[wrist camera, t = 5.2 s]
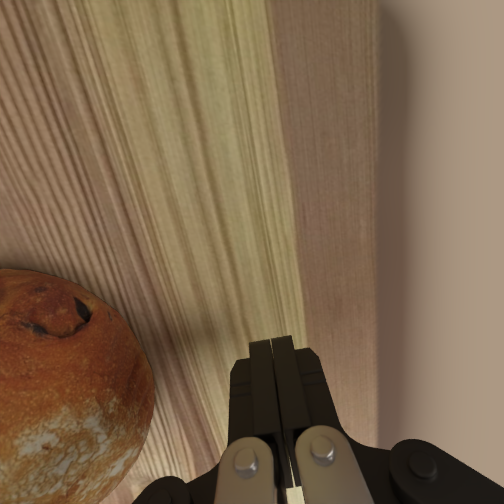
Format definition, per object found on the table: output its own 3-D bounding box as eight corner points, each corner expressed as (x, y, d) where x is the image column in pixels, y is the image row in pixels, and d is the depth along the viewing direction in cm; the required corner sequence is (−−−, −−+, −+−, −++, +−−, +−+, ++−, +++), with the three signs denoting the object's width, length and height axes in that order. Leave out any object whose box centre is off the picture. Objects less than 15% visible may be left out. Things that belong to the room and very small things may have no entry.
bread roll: (2, 365, 18) (-90, 558, 13) (-179, 242, 11) (-572, 593, 5) (177, 359, 19) (156, 546, 13) (126, 235, 11) (28, 562, 6)
